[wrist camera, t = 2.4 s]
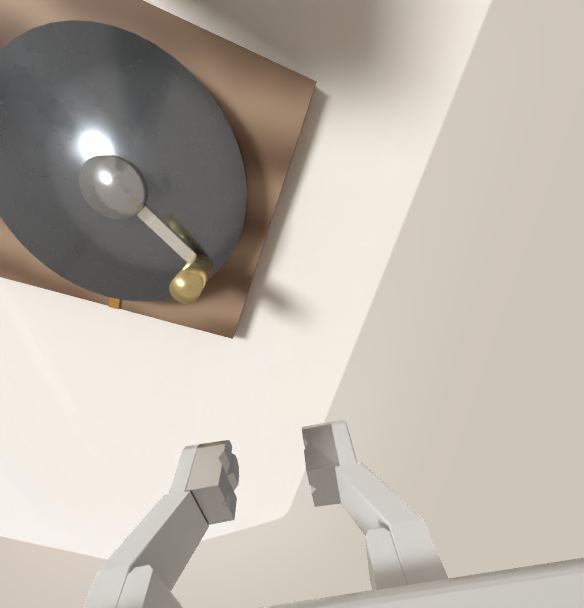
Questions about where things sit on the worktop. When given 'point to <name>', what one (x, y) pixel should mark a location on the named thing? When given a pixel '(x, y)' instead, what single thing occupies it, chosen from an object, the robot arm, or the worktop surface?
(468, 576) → the robot arm
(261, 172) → the stand plate
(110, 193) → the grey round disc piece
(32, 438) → the worktop surface
